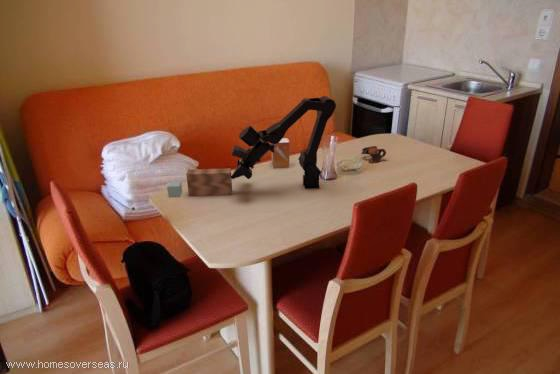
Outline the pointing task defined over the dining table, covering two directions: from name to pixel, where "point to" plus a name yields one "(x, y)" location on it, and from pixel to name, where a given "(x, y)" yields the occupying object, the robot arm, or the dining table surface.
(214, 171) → the brown patterned block
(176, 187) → the teal cube
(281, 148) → the small box
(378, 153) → the pottery mug
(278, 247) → the dining table surface
